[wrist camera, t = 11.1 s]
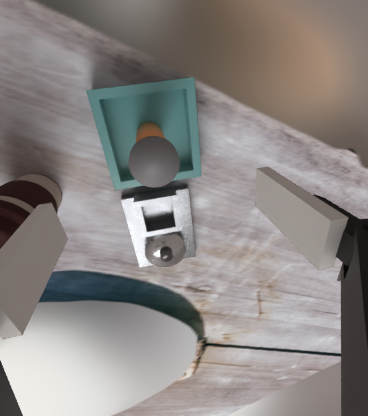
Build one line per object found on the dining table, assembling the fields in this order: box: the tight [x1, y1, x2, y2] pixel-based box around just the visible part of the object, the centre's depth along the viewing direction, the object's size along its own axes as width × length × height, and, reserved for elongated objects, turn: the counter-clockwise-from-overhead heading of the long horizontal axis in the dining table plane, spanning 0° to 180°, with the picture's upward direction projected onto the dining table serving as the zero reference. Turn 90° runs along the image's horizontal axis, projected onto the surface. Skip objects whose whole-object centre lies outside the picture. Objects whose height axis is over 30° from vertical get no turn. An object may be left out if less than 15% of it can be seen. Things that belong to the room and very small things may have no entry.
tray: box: [86, 77, 201, 190], centre depth 34 cm, size 14×14×4 cm
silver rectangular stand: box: [121, 185, 196, 267], centre depth 42 cm, size 12×17×5 cm
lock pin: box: [129, 121, 180, 187], centre depth 28 cm, size 5×5×15 cm
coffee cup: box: [0, 174, 62, 249], centre depth 31 cm, size 10×10×15 cm
